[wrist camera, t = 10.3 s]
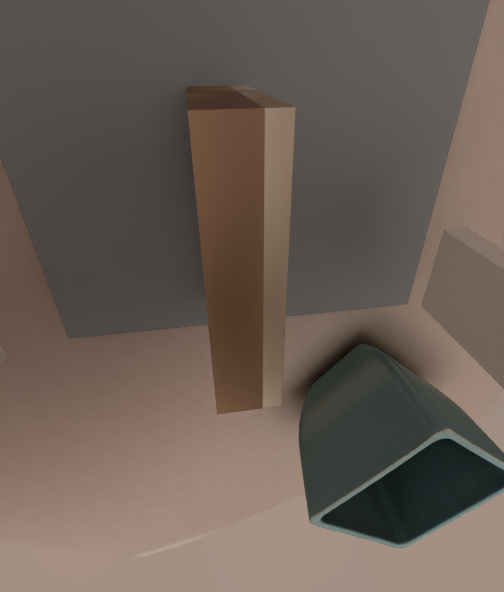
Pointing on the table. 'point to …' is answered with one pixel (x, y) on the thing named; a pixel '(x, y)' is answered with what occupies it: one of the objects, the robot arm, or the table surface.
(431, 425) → the flower pot
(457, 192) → the table surface
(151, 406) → the table surface
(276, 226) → the walnut tile
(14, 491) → the table surface
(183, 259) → the mat
